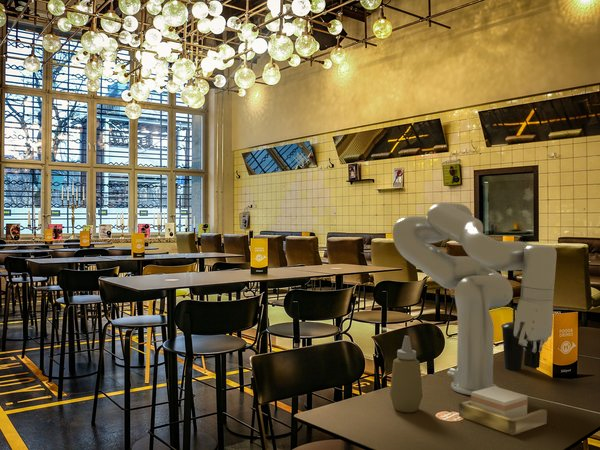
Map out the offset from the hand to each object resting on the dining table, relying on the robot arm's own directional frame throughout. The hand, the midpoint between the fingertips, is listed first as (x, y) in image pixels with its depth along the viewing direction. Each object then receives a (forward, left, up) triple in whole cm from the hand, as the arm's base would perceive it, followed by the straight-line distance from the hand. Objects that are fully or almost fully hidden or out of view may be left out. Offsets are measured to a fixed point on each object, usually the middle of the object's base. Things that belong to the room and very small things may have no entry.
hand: (531, 366), depth 139 cm
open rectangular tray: (+1, -13, -10) cm, 17 cm away
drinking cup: (-25, +30, -11) cm, 41 cm away
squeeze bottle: (-16, -28, -11) cm, 34 cm away
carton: (0, -14, -11) cm, 17 cm away
